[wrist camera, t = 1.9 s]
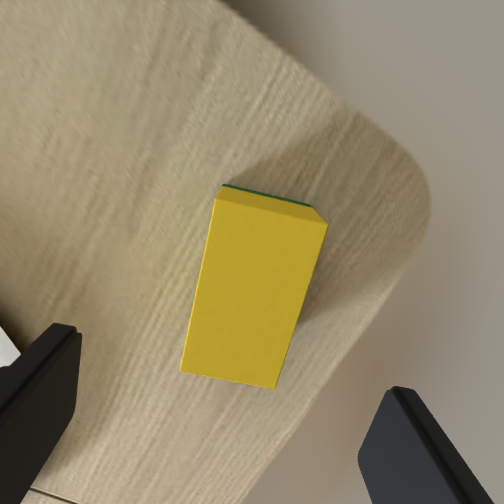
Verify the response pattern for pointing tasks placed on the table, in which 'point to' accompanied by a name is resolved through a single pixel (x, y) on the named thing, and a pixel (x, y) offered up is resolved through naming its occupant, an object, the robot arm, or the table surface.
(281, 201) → the sponge
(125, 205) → the table surface
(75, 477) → the table surface
